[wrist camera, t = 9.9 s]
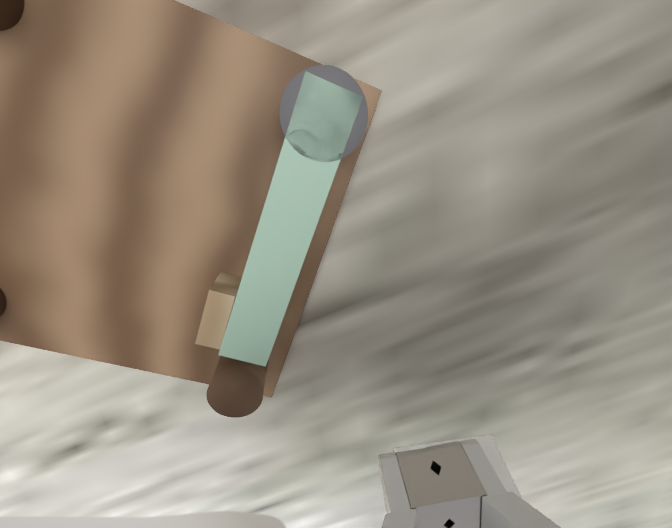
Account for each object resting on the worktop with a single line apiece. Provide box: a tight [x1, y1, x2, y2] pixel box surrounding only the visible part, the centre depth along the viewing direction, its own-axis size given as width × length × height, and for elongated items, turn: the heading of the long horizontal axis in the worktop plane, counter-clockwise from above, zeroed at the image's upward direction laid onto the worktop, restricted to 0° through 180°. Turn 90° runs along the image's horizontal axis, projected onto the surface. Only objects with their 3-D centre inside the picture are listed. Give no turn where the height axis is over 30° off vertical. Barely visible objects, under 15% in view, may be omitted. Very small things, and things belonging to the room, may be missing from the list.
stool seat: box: [0, 0, 382, 417], centre depth 20 cm, size 24×24×6 cm
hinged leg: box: [218, 65, 368, 367], centre depth 20 cm, size 17×4×4 cm, turn 159°
